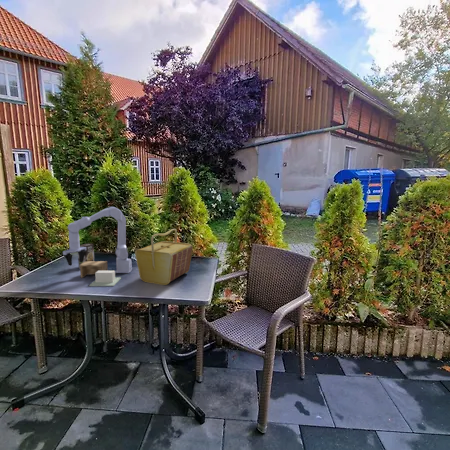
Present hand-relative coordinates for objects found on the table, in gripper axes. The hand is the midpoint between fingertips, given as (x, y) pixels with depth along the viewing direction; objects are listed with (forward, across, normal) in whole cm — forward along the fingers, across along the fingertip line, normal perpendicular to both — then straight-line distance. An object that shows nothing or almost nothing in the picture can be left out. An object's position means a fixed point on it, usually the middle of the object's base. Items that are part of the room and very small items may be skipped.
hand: (75, 263), depth 182 cm
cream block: (+9, +4, -21) cm, 23 cm away
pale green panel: (+9, +4, -21) cm, 24 cm away
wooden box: (+9, +9, -5) cm, 14 cm away
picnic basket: (+10, +29, -47) cm, 56 cm away
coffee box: (+10, +19, +15) cm, 26 cm away
